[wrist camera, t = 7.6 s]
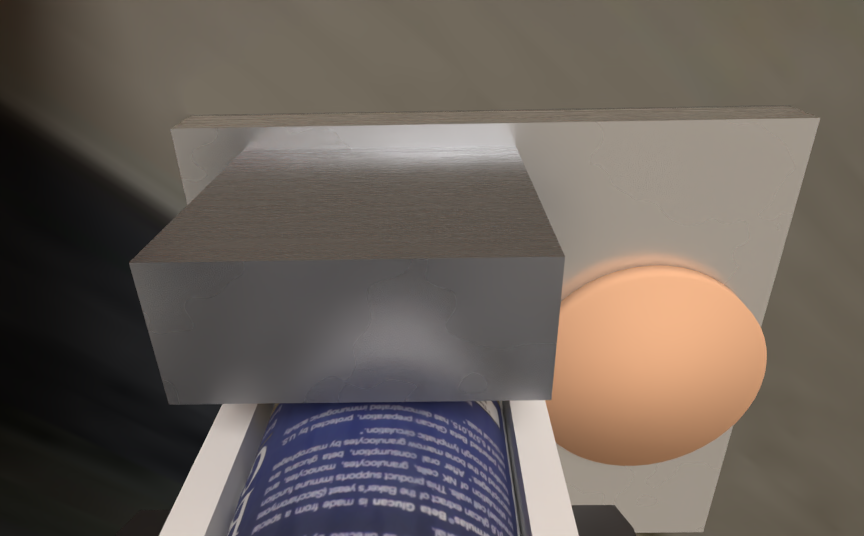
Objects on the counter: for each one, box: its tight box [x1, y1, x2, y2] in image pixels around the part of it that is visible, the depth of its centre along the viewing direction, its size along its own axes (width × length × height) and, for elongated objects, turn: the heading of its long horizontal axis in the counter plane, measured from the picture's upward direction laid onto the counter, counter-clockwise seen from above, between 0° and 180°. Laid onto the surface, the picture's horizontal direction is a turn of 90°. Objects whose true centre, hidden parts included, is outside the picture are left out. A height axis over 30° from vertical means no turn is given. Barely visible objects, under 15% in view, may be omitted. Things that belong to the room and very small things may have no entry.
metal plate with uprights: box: [129, 106, 820, 533], centre depth 14 cm, size 14×13×7 cm
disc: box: [545, 265, 767, 466], centre depth 15 cm, size 6×6×1 cm
